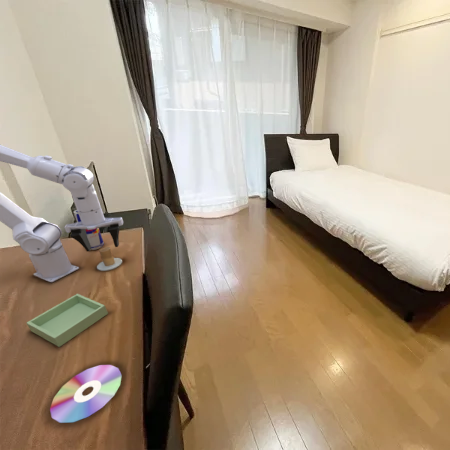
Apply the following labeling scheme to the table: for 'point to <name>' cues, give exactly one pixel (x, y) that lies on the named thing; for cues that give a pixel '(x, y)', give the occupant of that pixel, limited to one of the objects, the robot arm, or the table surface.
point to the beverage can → (92, 235)
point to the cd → (86, 405)
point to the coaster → (105, 268)
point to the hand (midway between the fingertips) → (103, 247)
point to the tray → (67, 319)
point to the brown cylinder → (107, 256)
